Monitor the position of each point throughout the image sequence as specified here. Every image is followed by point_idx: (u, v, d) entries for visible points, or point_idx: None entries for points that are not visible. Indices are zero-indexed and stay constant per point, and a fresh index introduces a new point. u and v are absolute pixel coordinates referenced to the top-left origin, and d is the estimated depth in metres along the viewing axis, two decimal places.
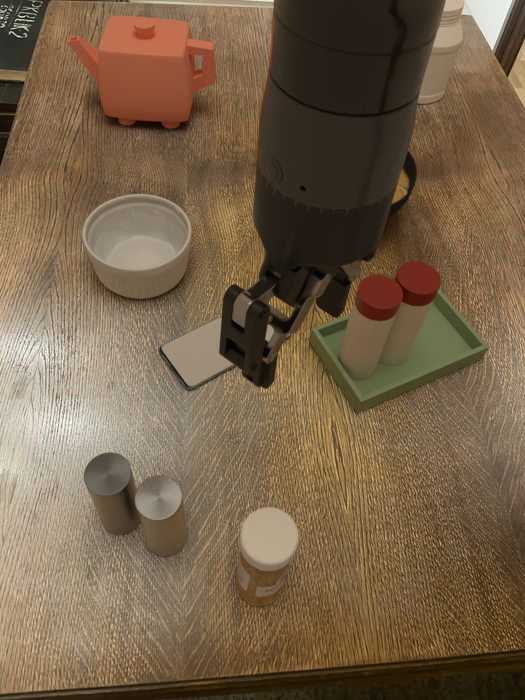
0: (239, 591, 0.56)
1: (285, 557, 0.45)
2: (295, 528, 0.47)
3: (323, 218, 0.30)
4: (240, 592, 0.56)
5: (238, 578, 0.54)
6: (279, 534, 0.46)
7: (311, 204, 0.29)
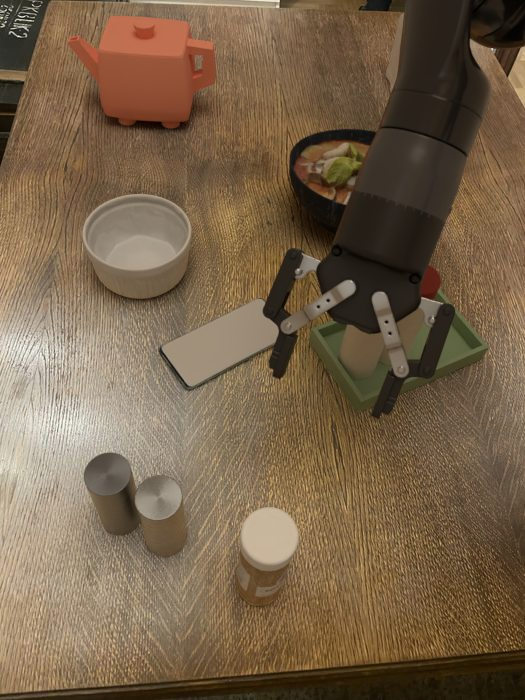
0: (239, 591, 0.56)
1: (285, 557, 0.45)
2: (295, 528, 0.47)
3: (354, 199, 0.45)
4: (240, 592, 0.56)
5: (238, 578, 0.54)
6: (279, 534, 0.46)
7: (354, 189, 0.46)
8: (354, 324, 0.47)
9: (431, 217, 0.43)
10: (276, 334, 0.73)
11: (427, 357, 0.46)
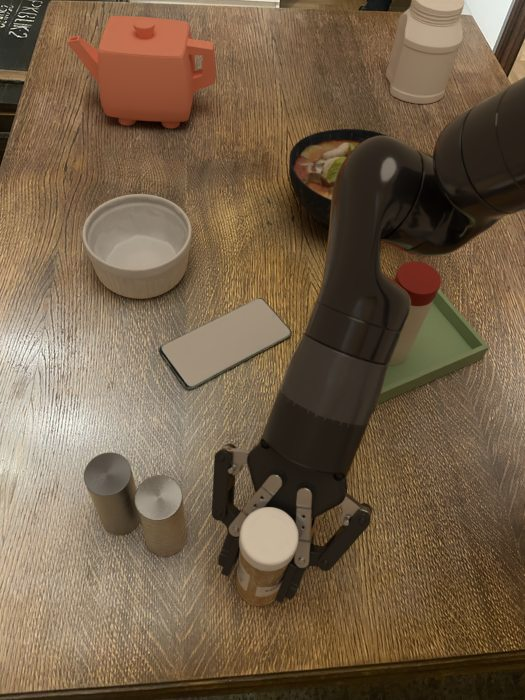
0: (239, 591, 0.56)
1: (285, 557, 0.45)
2: (295, 528, 0.47)
3: (280, 400, 0.47)
4: (240, 592, 0.56)
5: (238, 578, 0.54)
6: (279, 534, 0.46)
7: (280, 389, 0.47)
8: None
9: (351, 426, 0.45)
10: (276, 334, 0.73)
11: (330, 552, 0.48)
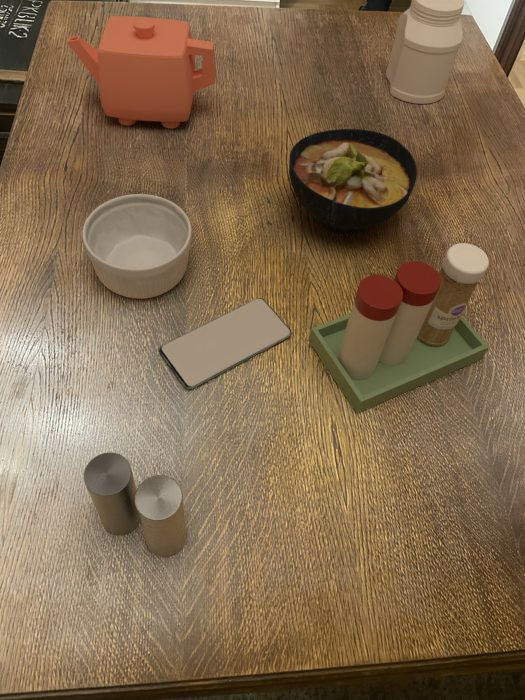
0: None
1: (471, 271, 0.63)
2: (487, 263, 0.64)
3: None
4: None
5: None
6: (474, 260, 0.64)
7: None
8: None
9: None
10: (276, 334, 0.73)
11: None
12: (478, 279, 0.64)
